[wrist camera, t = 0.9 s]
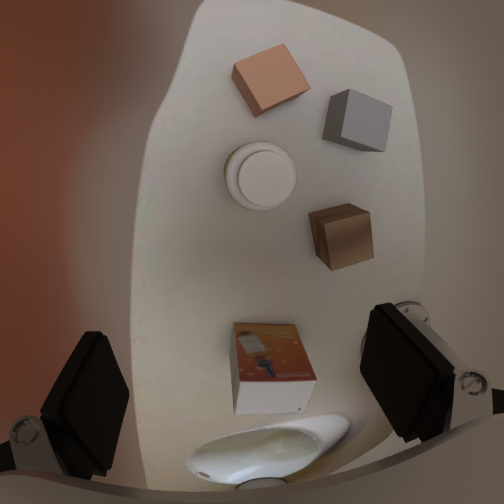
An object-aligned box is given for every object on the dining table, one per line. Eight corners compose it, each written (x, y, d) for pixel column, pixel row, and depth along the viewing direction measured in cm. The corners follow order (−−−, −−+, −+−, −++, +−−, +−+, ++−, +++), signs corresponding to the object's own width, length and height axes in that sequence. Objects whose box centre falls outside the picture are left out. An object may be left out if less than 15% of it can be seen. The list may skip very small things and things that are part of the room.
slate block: (361, 151, 29) (384, 152, 25) (322, 138, 28) (340, 136, 24) (369, 111, 28) (392, 106, 23) (330, 97, 27) (349, 88, 22)
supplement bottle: (287, 171, 29) (321, 180, 20) (250, 208, 30) (266, 234, 20) (250, 133, 27) (267, 122, 18) (212, 171, 28) (209, 180, 19)
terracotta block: (296, 97, 27) (310, 88, 22) (254, 117, 27) (262, 109, 22) (273, 59, 25) (283, 43, 20) (231, 77, 25) (234, 63, 21)
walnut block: (354, 243, 33) (373, 257, 28) (315, 254, 33) (331, 271, 28) (348, 203, 31) (369, 212, 27) (308, 213, 31) (324, 224, 26)
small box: (295, 323, 36) (320, 379, 26) (286, 357, 37) (306, 414, 28) (232, 321, 34) (239, 381, 25) (228, 355, 36) (233, 416, 26)
